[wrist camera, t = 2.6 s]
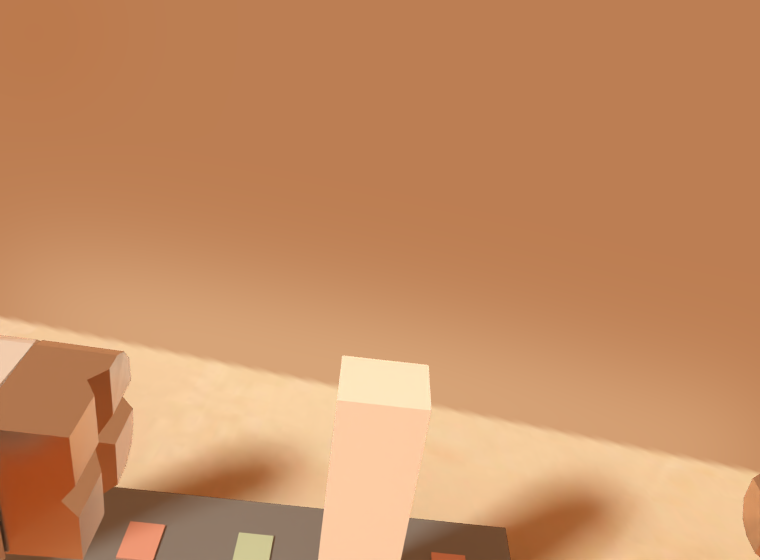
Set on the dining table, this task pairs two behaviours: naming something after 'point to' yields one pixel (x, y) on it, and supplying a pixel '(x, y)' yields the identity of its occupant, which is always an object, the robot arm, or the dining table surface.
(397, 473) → the breaker lever
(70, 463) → the robot arm
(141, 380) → the dining table surface
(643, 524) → the dining table surface
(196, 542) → the breaker panel
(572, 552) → the dining table surface
